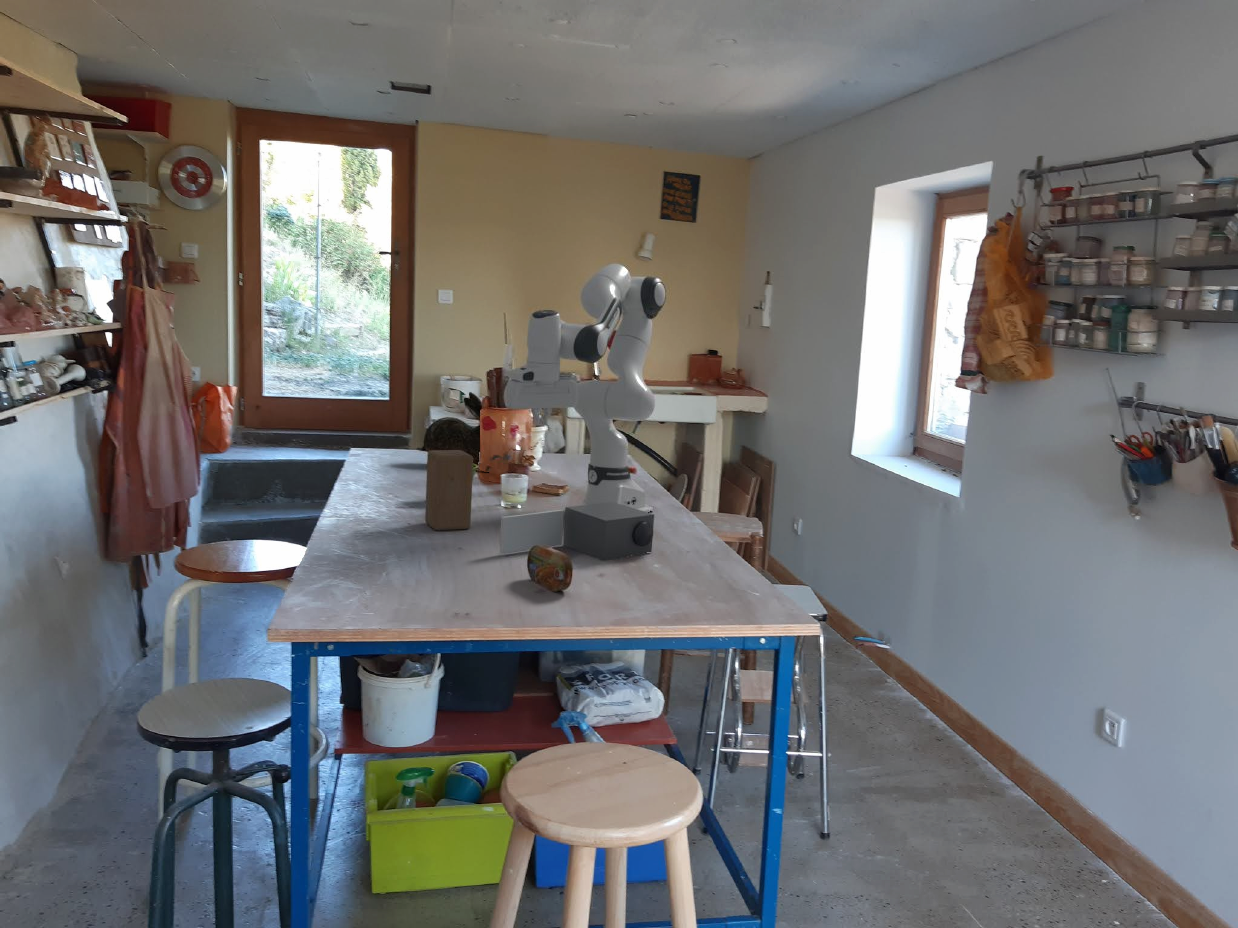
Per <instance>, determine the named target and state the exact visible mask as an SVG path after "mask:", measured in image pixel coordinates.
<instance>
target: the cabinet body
mask: <svg viewBox="0 0 1238 928" xmlns="http://www.w3.org/2000/svg"><path fill="white" fill-rule="evenodd" d="M654 520H655V514H654V513H652V512H649V513H648V512H644V511H641V510H638V509H635V508H631V507H628V506H625V505H622V504H618V503H615V502H608V503H599V504H590V505H583V504H582V505H574V506H566V507H565V508H564V523H563V530H564V531H563V539H562V546H563V547H566V548H570V549H571V550H575V551H577V552H580V553H582V554H585V555H588V556H590V557H592V558H595V559H597V558H598V559H597V560H600V561H609V560H615V558H617V559H622V558H621V557H623V558H628V557H627V556H629V557H632V556H631V555H635V556H638V555H637V554H641V555H644V554H643V553H647V552H651V553H652V549H653V539H654V538H653V537H654V525H655V521H654ZM647 554H648V553H647Z"/></svg>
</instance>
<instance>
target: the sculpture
mask: <svg viewBox="0 0 1238 928" xmlns="http://www.w3.org/2000/svg"><path fill="white" fill-rule="evenodd" d="M463 403H464V406H465V407H466V408H467V410H468V411H469V412H470V414H471V415H473V416H474V418H476V419H477V420H479V421H480V410H481V409H482V405H483V402H482V400H481V399H480V398H479V397H478V396H477V395H476V394H474V393H473V392H471V391H469V392H468V397H464V398H463ZM483 406H484V405H483ZM423 438H424V439H423V446H422V447H417V448H416V450H418V451H419V452H426V453H428V452H429V451H431V450H461V451H464V452H465V453H467V454H469V455H471V456H472V457H473V464H476V465H477V466H478V465H479V464H478V462H479V452H480V424H478V425H477V426H471V425H469V424H468V423H466V422H465V421H464V420H461V419H460V418H457V417H452V416H444V417H441V418H439V419H436V420H435V421H433V422H432V423H431V424H430V425H429V426H428V428H427V429H426V432H425V434H424V437H423Z"/></svg>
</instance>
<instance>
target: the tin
mask: <svg viewBox="0 0 1238 928" xmlns="http://www.w3.org/2000/svg"><path fill="white" fill-rule="evenodd" d="M526 561H527V563H526V567H527V573H528V576H529V578H530V579H531V581H532V582H533V581H534V582H533V583H535V584H537V585H539V586H541V587H543V588H545V589H547V590H549V591H551V590H552V591H551V592H553V593H555V592H561V591H562V592H563V591H565V590H568V588H569V587H570V586H571V585H572V580H573V569H574V568H573V567H574V566H573V563H572V560H571V559H570V557H569V556H568V555H567V554H566V553H565V552H563V551H559V550H557V549H555V548H553V547H548V546H538V545H536V546H534V547H532V548H531V550H529V552H528V555H527V559H526Z"/></svg>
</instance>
